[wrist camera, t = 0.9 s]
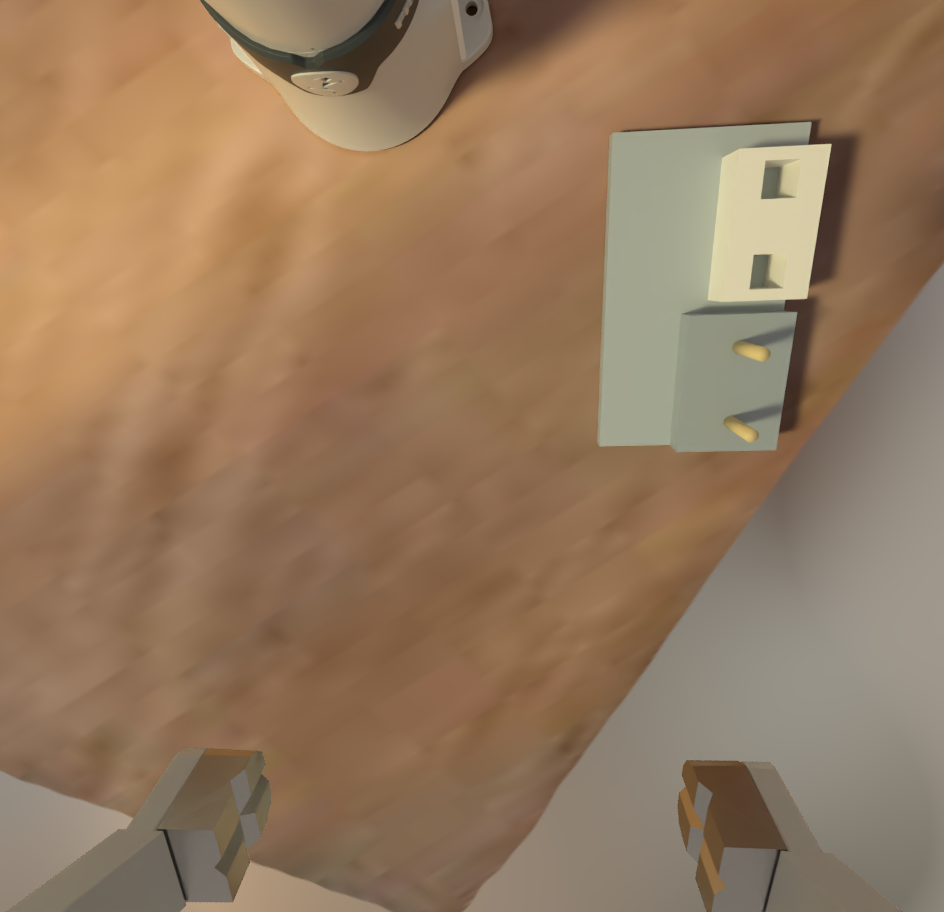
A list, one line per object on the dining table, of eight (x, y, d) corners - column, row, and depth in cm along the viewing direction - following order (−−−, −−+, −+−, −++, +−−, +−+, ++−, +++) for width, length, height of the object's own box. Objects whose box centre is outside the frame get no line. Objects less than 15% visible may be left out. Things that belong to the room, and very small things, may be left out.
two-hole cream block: (722, 157, 39) (739, 148, 36) (806, 153, 38) (831, 143, 35) (707, 300, 42) (723, 301, 39) (785, 297, 42) (806, 298, 39)
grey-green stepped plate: (609, 136, 40) (632, 108, 33) (802, 126, 39) (867, 94, 32) (597, 442, 47) (613, 470, 41) (758, 438, 47) (802, 466, 40)
